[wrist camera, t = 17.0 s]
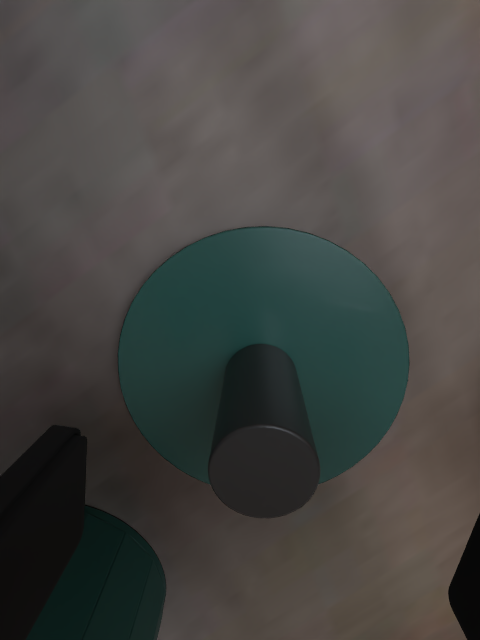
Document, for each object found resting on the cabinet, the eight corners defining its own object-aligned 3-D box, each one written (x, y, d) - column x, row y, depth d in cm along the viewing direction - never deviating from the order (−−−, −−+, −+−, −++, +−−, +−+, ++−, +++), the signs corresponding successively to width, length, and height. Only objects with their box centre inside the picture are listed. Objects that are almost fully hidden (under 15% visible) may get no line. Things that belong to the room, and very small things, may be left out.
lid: (135, 203, 13) (29, 197, 7) (435, 250, 14) (591, 285, 7) (120, 456, 17) (39, 603, 11) (360, 493, 17) (423, 662, 11)
